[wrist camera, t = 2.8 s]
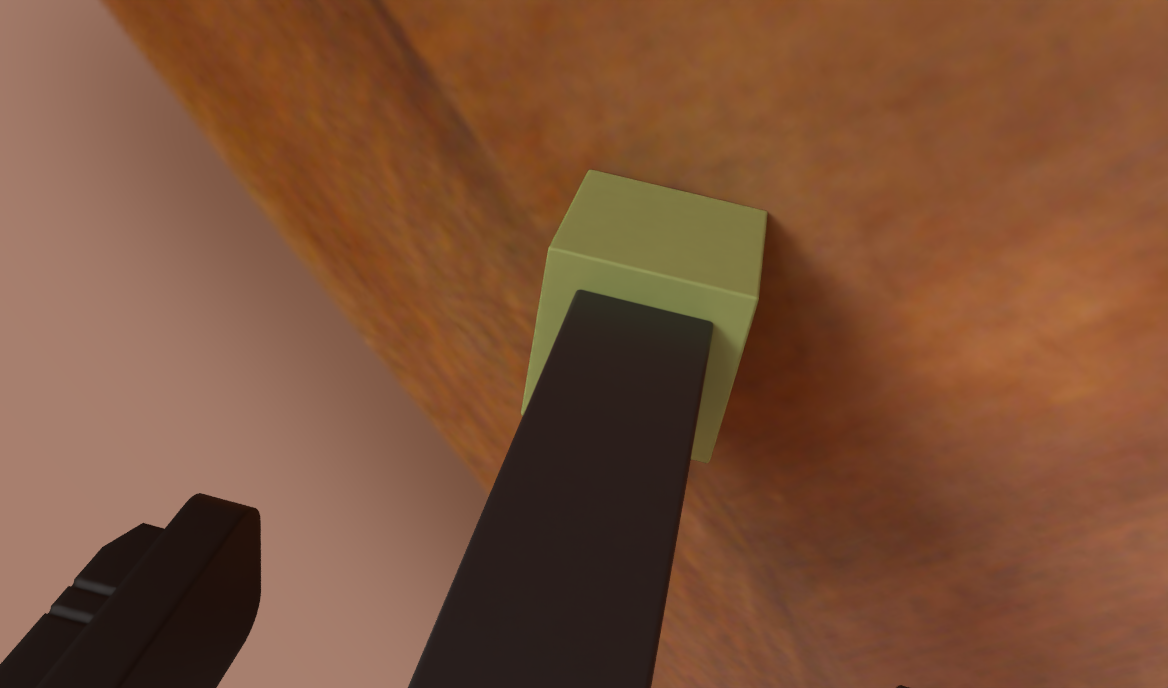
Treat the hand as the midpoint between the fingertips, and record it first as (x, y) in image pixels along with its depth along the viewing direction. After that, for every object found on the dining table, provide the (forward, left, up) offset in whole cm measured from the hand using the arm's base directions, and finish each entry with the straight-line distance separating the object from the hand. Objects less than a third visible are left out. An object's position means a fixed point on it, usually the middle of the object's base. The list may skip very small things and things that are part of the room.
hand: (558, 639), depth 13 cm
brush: (0, 0, -10) cm, 10 cm away
